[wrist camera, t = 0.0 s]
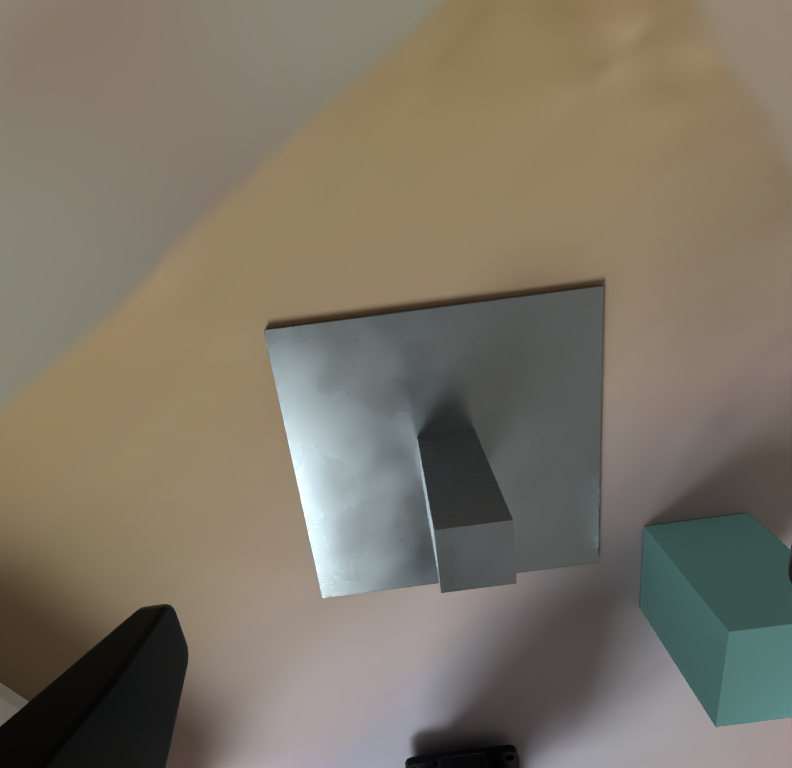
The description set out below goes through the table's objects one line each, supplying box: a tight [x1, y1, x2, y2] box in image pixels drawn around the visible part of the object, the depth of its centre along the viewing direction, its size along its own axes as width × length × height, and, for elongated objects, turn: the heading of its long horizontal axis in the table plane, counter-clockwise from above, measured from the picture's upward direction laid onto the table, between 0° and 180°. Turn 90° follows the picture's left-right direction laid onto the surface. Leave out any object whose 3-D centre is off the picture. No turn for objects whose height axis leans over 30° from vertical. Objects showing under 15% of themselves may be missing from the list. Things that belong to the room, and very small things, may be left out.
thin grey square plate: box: [264, 285, 604, 598], centre depth 21 cm, size 14×14×7 cm
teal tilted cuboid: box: [639, 513, 792, 727], centre depth 24 cm, size 5×5×7 cm
